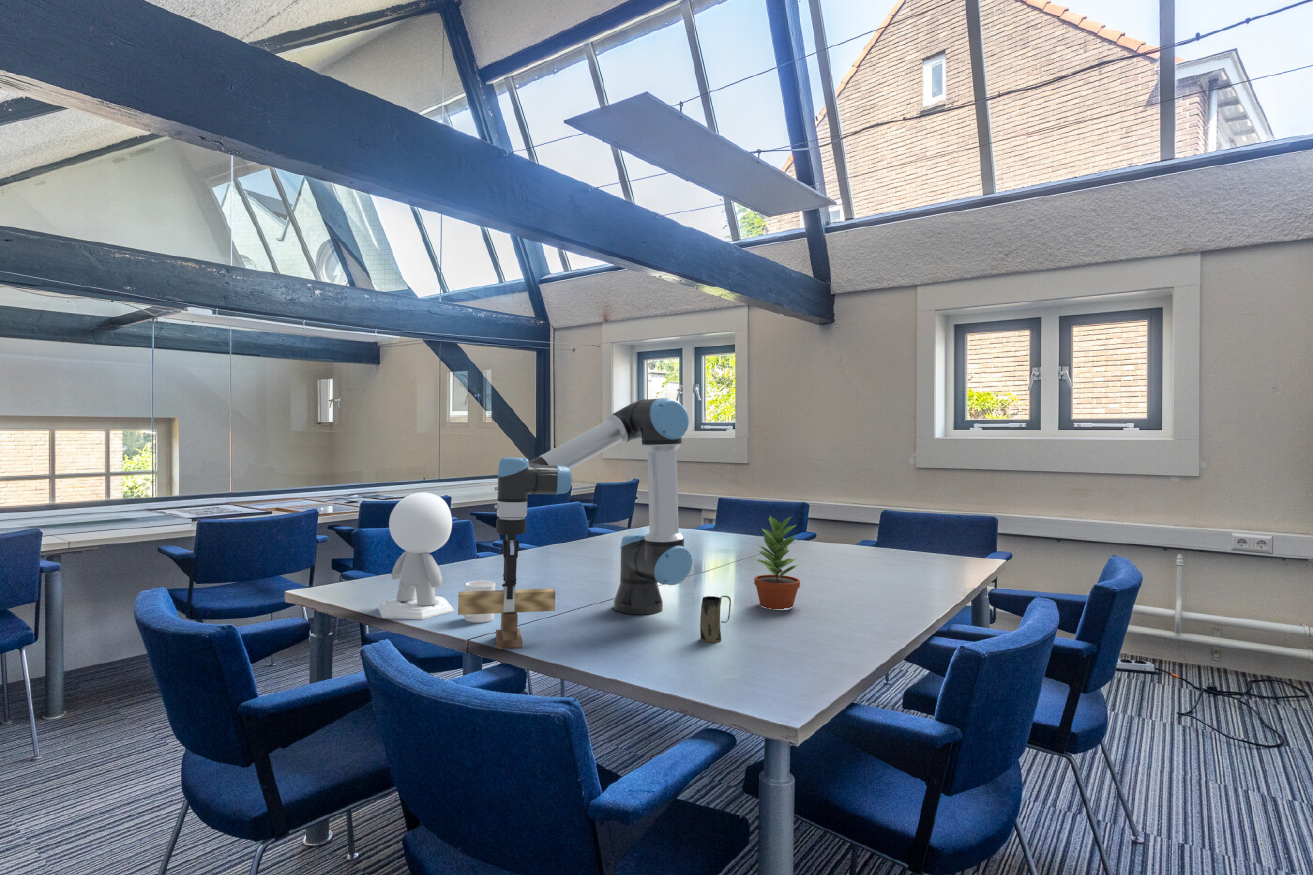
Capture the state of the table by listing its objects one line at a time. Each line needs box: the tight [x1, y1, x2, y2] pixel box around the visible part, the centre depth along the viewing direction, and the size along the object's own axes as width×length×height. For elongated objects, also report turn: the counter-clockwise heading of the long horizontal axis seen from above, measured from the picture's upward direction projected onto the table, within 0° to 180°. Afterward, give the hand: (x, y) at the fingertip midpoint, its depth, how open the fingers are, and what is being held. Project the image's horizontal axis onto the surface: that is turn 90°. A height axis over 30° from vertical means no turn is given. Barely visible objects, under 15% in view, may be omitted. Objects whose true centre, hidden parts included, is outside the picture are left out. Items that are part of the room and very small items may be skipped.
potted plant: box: [753, 515, 801, 609], centre depth 221 cm, size 15×15×30 cm
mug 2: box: [699, 595, 732, 644], centre depth 183 cm, size 8×6×12 cm
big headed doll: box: [377, 492, 455, 621], centre depth 206 cm, size 20×23×35 cm
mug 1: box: [463, 580, 496, 624], centre depth 196 cm, size 12×8×10 cm
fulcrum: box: [495, 612, 523, 650], centre depth 177 cm, size 6×10×8 cm, turn 15°
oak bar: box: [457, 588, 556, 616], centre depth 176 cm, size 24×4×5 cm, turn 105°
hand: (508, 609), depth 176 cm, fingers closed on oak bar, 3 cm apart
